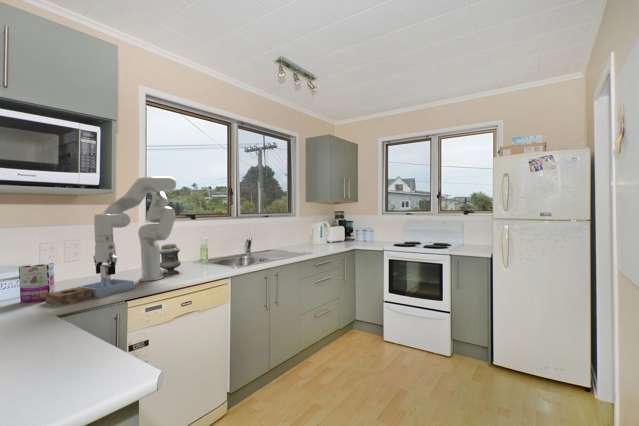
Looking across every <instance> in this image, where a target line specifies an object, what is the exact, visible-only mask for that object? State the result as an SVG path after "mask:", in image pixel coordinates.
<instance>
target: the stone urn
mask: <svg viewBox="0 0 639 426" xmlns="http://www.w3.org/2000/svg"><path fill="white" fill-rule="evenodd" d="M179 252H180V247H178V245H177V243H167V244H166V243H165V244H162V245H161V248H160V269H162V270H166V269H167V270H168V272H167V273H163V274H162V275H163V276H167V275H174V274H175V275H176V274H178V273H179V272H180V271H179V270H177V269H176V268H178V267H180V265H181V264H182V263H181V261H180V260H179Z"/></svg>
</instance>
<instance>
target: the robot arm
mask: <svg viewBox="0 0 639 426" xmlns="http://www.w3.org/2000/svg"><path fill="white" fill-rule="evenodd" d="M176 187H177V182H176V180H175V178H174V177H172V176H144V177H143V176H142V177H139V178H137V179H136V180H135V181H134V183H133V184H132V185H131V187H129V189H128V190H127V192H125V194H124V195H123V196H121V197H120V198H118V199H117V200H115V201H114V202H112V203H111V204H109V206H108V207H107V208H105V210H104V211H103V212H102V213H97V214H95V215H94V216H93V228H94V245H95V246H94V255H93V260H94V261H93V262H94V265H95V274H96V275H97V274H99V275H100V274H101V273H100V266H101V265H103V263H105V264H106V265H108V266H109V267H108V275H115V274H116V265H117V262H118V261H117V260H118V256H117V253H116V250H117V249H116V245H115V242H114V228H118V229H119V228H125V227H127V226H128V225H130V223H131V217H130V216H129V215H128V214H127V213H124V212H125V211H128V210H131V209H134V208H136V207H138V206H139V205H141V203H142V202H143V201H144V200H145V197H146V196H147V195H148V194H149V193H150V194H151V196H152V200H151V203H150V205H149V209H148V212H147V215H146V219H147V221H148V222H149V223H146V224H145V223H144V224H143V225H141V226H140V227H139V228H138V231H137V234H138V235H137V236H138V239H139V243H140V259H141V276H140V277H138V281H140V282H149V281H157V280H161V279H163V278H164V276H165V275H163V273H167V272H168V270H167V269H162V268H161V267H160V263H161V254H160V249H161V248H160V245H159V243H158V241H166V240H168V238H169V237H170V236H171V233H172V231H173V227H174V224H175V221H176V212H175V210H174V208H172V206H168V203H169V201H168V197H167V195H166V193H165V192H172V191H175V189H176Z"/></svg>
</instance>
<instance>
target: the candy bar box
mask: <svg viewBox="0 0 639 426" xmlns="http://www.w3.org/2000/svg"><path fill="white" fill-rule="evenodd" d="M18 278H19V295H20V296H19V297H20V303H21V302H26V303H34V302H35V303H36V302H44V301H45V302H46V294H48V293H52V292H56V291H55V290H56V289H55V287H56V286H55V269H54V262H49V263H48V262H46V263H32V264H23V265H20V266H18Z"/></svg>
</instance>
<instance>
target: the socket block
mask: <svg viewBox="0 0 639 426" xmlns="http://www.w3.org/2000/svg"><path fill="white" fill-rule="evenodd" d="M92 298H93V297H92V296H91V289H84V288H77V286H76V287H71V288H65V289H63V290H62V289H61V290H58V291H55V292H52V293H48V294H46V301H45V303H46V304H50V305H54V306H60V307H63V306H66V305H69V304H75V303H78V302H81V301H86V300H90V299H92Z"/></svg>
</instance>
